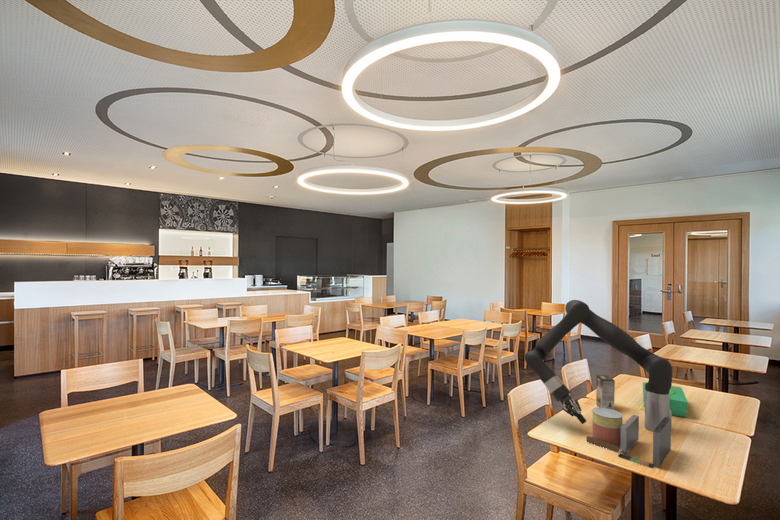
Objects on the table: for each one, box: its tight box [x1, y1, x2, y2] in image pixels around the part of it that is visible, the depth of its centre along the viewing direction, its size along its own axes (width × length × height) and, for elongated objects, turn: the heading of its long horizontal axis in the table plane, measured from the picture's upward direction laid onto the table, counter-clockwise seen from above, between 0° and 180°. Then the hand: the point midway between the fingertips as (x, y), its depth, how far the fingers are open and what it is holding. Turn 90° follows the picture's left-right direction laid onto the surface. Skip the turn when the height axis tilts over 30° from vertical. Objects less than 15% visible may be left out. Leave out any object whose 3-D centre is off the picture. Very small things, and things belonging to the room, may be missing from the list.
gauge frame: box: [586, 417, 672, 469], centre depth 157 cm, size 26×22×13 cm
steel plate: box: [617, 414, 640, 455], centre depth 156 cm, size 2×21×10 cm, turn 134°
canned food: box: [591, 407, 624, 448], centre depth 163 cm, size 11×11×12 cm
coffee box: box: [595, 374, 616, 410], centre depth 201 cm, size 9×6×16 cm
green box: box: [642, 381, 689, 418], centre depth 200 cm, size 18×12×35 cm
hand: (584, 422), depth 170 cm, fingers closed
